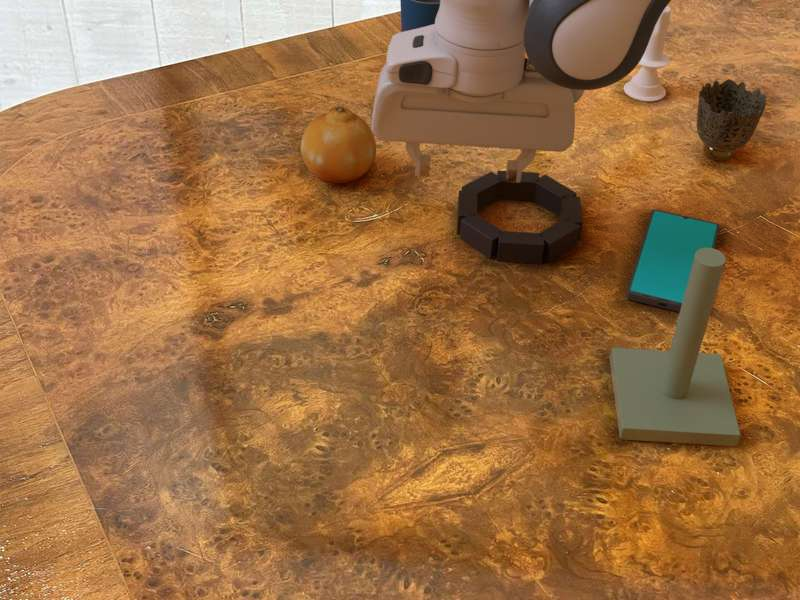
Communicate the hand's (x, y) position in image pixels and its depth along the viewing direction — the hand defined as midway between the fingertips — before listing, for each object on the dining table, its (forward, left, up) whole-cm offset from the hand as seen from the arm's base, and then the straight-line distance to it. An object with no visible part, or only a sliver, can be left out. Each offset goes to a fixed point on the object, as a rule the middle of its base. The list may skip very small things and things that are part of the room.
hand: (467, 176), depth 111 cm
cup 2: (-30, -16, -6) cm, 34 cm away
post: (-19, +25, -6) cm, 32 cm away
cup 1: (+5, -24, -6) cm, 25 cm away
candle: (-23, -30, -6) cm, 38 cm away
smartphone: (-22, +5, -6) cm, 23 cm away
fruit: (+14, -8, -6) cm, 17 cm away
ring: (-6, 0, -6) cm, 8 cm away
